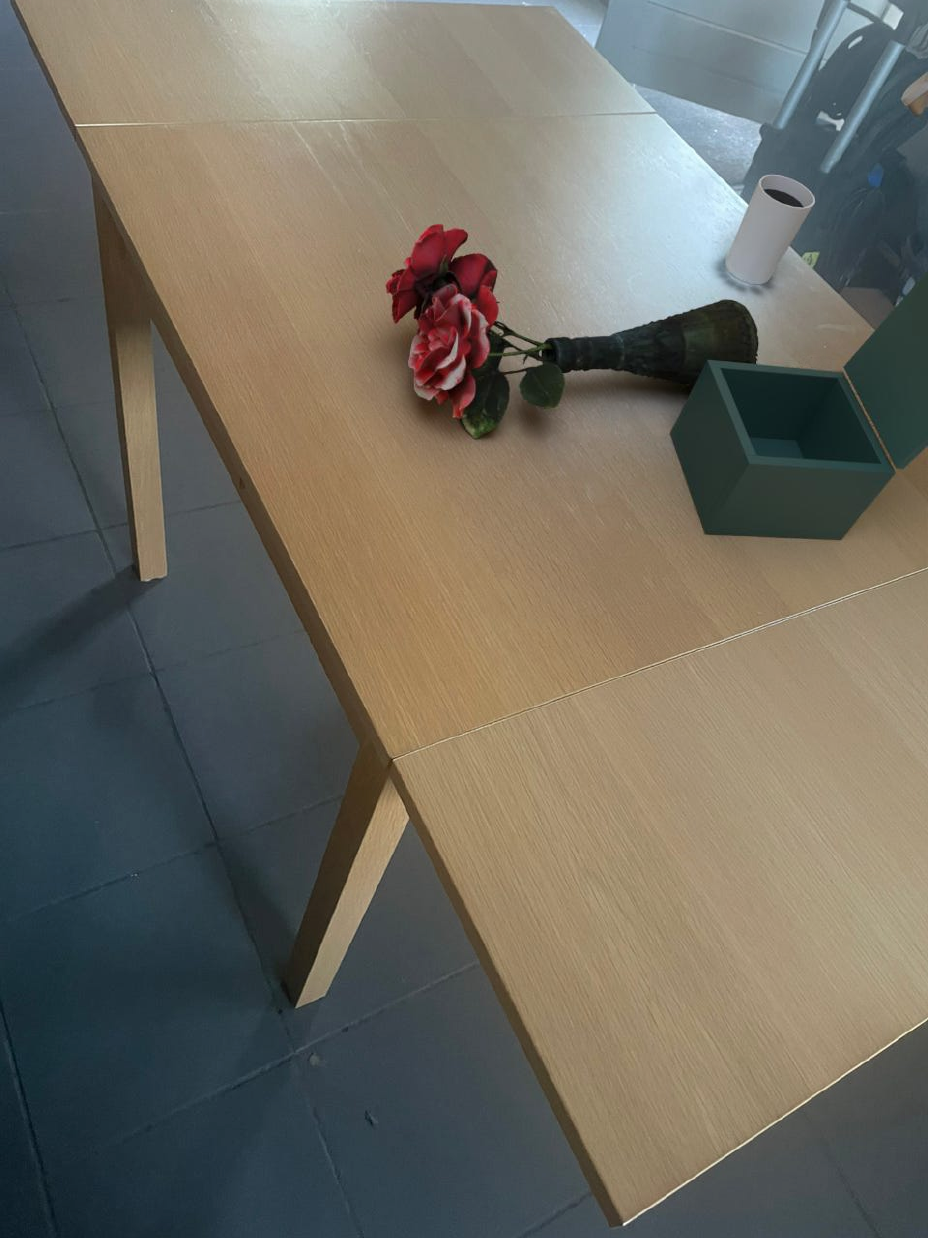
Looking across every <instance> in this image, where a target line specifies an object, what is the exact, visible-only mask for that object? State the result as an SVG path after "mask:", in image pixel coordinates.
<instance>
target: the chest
mask: <svg viewBox="0 0 928 1238" xmlns="http://www.w3.org/2000/svg"><path fill="white" fill-rule="evenodd" d="M857 397H858V396H856V394H855V392H854V390H853V388H852V385H851V383H850V381H849V380H848V379H847V377H846V376H845V373H844V372H843V371H836V370H823V369H811V368H802V367H793V366H792V367H791V366H781V365H769V364H760V363H759V364H758V363H757V364H749V363H738V362H727V361H716V360H707V362H706V364H705V366H704V368H703V370H702V371H701V373H700V375H699V377H698V379H697V381H696V383H695V385H694V387H693V386H692V389H691V390H690V393H689V395H688V397H687V399H686V401H685V402H684V404H683V406H682V408H681V410H680V412H679V414H678V416H677V418H676V420H675V422H674V424H673V425H672V427H671V429H670V431H669V434H670V437H671V440H672V444H673V446H674V449H675V452H676V454H677V458H678V460H679V463H680V466H681V469H682V472H683V475H684V478H685V480H686V483H687V486H688V489H689V492H690V495H691V498H692V501H693V503H694V506H695V509H696V512H697V515H698V517H699V518H698V519H699V521H700V524H701V526H702V530H703V533H704V534H705V535H719V536H739V537H740V536H742V537H762V538H763V537H765V538H785V539H786V538H789V539H809V540H810V539H811V540H831V541H833V540H835V541H842V539H843V538H844V537H845V536H846V535H847V533H848V532H849V531H850V530H851V529H852V527H853V526H854V525H855V524H856V522H857V521H858V520H859V519H860V518H861V516H863V514H864V513H865V512H866V511H867V509H868V508H869V506H871V504H872V503H873V502H874V501H875V500H876V499H877V497H878V496H879V494H880V493H881V492H882V491H883V490H884V488H885V487H886V486H887V485H888V483H889V482H890V481H891V480H892V478H893V477H894V476H895V475H896V474H897V471H896V470H895V468H894V466H893V464H892V462H891V459H890V458H889V457H888V455H887V453H886V451H885V449H884V447H883V445H882V444H881V442H880V440H879V438H878V436H877V434H876V432H875V430H874V428H873V426H872V425H871V423H870V422H871V421H869V418H868V416H867V415H866V412H865V410H864V409H863V407H862V405H861V403H860V400H859V399H858V398H857Z"/></svg>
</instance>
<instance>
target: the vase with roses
mask: <svg viewBox="0 0 928 1238" xmlns="http://www.w3.org/2000/svg"><path fill="white" fill-rule="evenodd" d="M468 238H469V233H468V232H467V231H466V230H465V229H463V228H455V227H454V228H451V229H448V230H445V231H444V224H442V223H441V224H439V223H436V224H435V223H434V224H431V225H430V226H428V227H427V228H426V229H425V230H424V231H423V233H421V235H420V236H419V238H418V240H417V241H416V242H415V243H414V245H413V247H412V250H411V253H410V256H408V257H406V258H405V260H404V261H403V264H404V267H405V268H401V269H397V270H396V271H394V272H392V273H391V274H390V276H391V277H392V278H390V279H389V280H388V281H387V282H386V283H385V289H386V290H385V291H386V294H390V295H392V296H391V300H392V303H391V316H392V321H393V323H394V325H395V324H396V325H397V324H398V323H399V321H400V320H401V319H403V318H404V317H405V316H406V315H407V314H409V313H410V312H411V311H412V310H413V309H415V310H414V311H413V319H414V320H416V321H417V326H418V328H417V331H416V334H415V335H414V336H413V337H412V341H411V344H410V350H409V357H408V362H407V365H408V369H413V376H414V377H413V390H414V392H415V393H416V394H417V396H418V397H420V398H421V399H425V400H427V402H429V401H432V400H433V398H435V399H436V400H437V404H438V405H442V404H444V403H445V402H446V401H447V400H450V401H451V403H452V408H453V409H452V418H454V419H459V420H460V419H461V421H462V424H463V425H464V428H465V430H466V431H467V432H468V433H469V434H470V435H471V437H472V438H473V439H479V438H480V437H482V436H484V435H485V434H488V433H489V432H491V431H493V430H494V429H495V428H497V426H498V425H499V424H500V423H501V421H502V420H503V418H504V416H505V415H506V413H507V410H508V406H509V403H510V396H511V393H510V392H511V391H510V390H511V388H510V384H509V383H510V381H509V380H508V377H507V376H506V375H514V374H519V373H524V372H525V373H524V376H523V377H522V378H521V381H520V382H519V384H518V387H519V391H520V395H521V397H522V399H523V400H524V401H526V403H527V404H529V405H530V406H533V407H537V408H540V409H543V410H544V409H554V408H556V407H557V406H558V405H559V403H560V402H561V400H562V398H563V396H564V391H565V386H566V378H565V375H564V374H568V373H569V374H570V373H571V372H572V371H573V372H579V371H583V372H589V371H592V370H602V371H604V370H606V371H608V370H612V371H614V372H627V373H630V374H631V375H635V376H639V377H646V378H648V379H651V378H652V379H653V380H661V381H666V382H668V383H674V384H676V385H677V384H679V385H681V386H683V387H684V386H688V387H692V388H693V387H694V385H695V383H696V381H697V379H698V377H699V375H700V373H701V371H702V370H703V368H704V366H705V364H706V362H707V360H716V361H727V362H738V363H749V364H758V363H757V361H758V359H757V358H758V356H759V355H758V351H759V344H760V342H759V336H758V327H757V325H756V322H755V320H754V317H753V315H752V314H751V312H750V311H749V309H748V308H747V306H746V305H744V304H743V303H741V302H739V301H737V300H734V299H729V298H728V299H727V298H726V299H725V298H723V299H720V300H719V301H715V302H713V303H709V304H704V305H703V306H700V307H697V308H691V309H690V310H687V311H683V312H682V313H676V314H673V315H668V316H667V317H666V318H664V319H658V320H656V321H653V320H651V321H650V322H648V323H644V324H641V325H638V326H635V327H632V328H628V329H624V330H621V331H616V332H614V333H611V334H610V335H598V336H596V335H595V336H586V335H585V336H580V337H579V336H577V337H573V338H570V337H568V336H561V337H559V336H558V337H548V338H547V339H545V341H543V342H541V341H537V340H533V339H531V338H528V337H526V336H523V335H521V334H519V333H517V332H516V331H514V330H513V329H511V328H510V327H508V326H507V325H506V324H505V323H503V322H501V321H498V320H497V319H498V316H499V312H500V311H499V310H500V309H499V304H500V302H501V301H497V298H496V296H495V295H494V290H495V288H496V287H495V286H496V283H497V277H498V273H499V270H498V269H497V268H496V266H495V265H494V263H493V262H492V260H491V259H490V258H489V257H488V256H487V255H486V254H483V253H481V252H480V253H479V252H476V253H475V252H473V253H469V254H468V253H467V254H465V255H460V256H457V257H454V256H455V254H456V252H457V251H458V250H459V249H460V247H461V246H463V245H464V244H466V242H467V241H468ZM493 326H494V327H496V328H497V329H499V330H501V331H502V332H499V333H498V332H496V331H495V330H493V329H492V328H493ZM508 336H510V337H511V336H512V337H514V338H517V339H520V340H522V341H525V342H527V343H529V344H531V345H534V346H536V347H531V348H529V349H522V348H520V347H518V346H516V345H515V344H513V343H512V342H510V341H508V340H507V339H506V338H505V337H508ZM509 348H513V349H514V350H516V351H511V352H510V351H508V352H505V350H506V349H509ZM540 352H541V353H540ZM520 355H524V357H523V358H522V365H524V364H525V362H526V361H527V360H528V357H529V358H532V359H535V360H536V362H541V363H542V364H538V365H535V366H527V367H524V368H521V369H518V370H509V371H502V370H500V364H501V362H502V359H503V357H504V358H505V357H511V356H513V357H514V356H520ZM477 379H478V380H477Z"/></svg>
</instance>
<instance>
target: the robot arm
mask: <svg viewBox="0 0 928 1238" xmlns="http://www.w3.org/2000/svg"><path fill="white" fill-rule="evenodd" d="M900 100H901V102H902V103H903V105H904V106H905V107H906V108H907V109H908V111H909V112H910V113H911V114H912V115H913V117H914V118H917V117H919V116H921V115H922V114H923V113H924V111H925V109H927V108H928V71H926V72H925V73H924V74H922V75H921V76H920V77H919V78H917V79H916V80H915V81H914V82H912V83H911V84H910V85H909V86H908V87H907V88H906V89H905V91H903V93H902V96H901V98H900Z"/></svg>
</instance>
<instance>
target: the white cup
mask: <svg viewBox="0 0 928 1238" xmlns="http://www.w3.org/2000/svg"><path fill="white" fill-rule="evenodd" d="M815 203H816V201H815V195H813V193H812V192H811V190H810V189H809V188H808V187H806V186H805V185H804V184H802V183H800V182H799V181H797V180H795V179H793V178H790V177H787V176H783V175H780V174H779V175H778V174H766V175H763V176H762V177H760V179H759V180H758V182H757V184H756V186H755V189H754V191H753V194H752V197H751V199H750V201H749V204H748V206H747V208H746V211H745V213H744V215H743V217H742V219H741V222H740V224H739V227H738V230H737V232H736V234H735V236H734V239H733V241H732V243H731V246H730V248H729V251H728V253H727V256H726V258H725V260H724V266H725V268H726V270H727V271H728V272H729V273H730V274H731V275H732V276H733V277H734V278H736V279H738V280H739V281H742V282H745V283H747V284H751V285H763V284H767V283H768V282H769V281H770V280H771V278H772V276H773V274H774V273H775V271H776V270H777V267H778V266H779V264H780V263H781V260H782V259H783V258H784V255H785V254H786V253H787V250H788V249H789V247H790V245H791V244H792V243H793V240H794V239H795V236H796V235H797V234H798V232H799V231H800V228H801V227H802V226H803V223H804V222H805V220H806V218H807V217H808V215H809V213H810V212H811V210H812V209H813V207H814V205H815Z"/></svg>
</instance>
